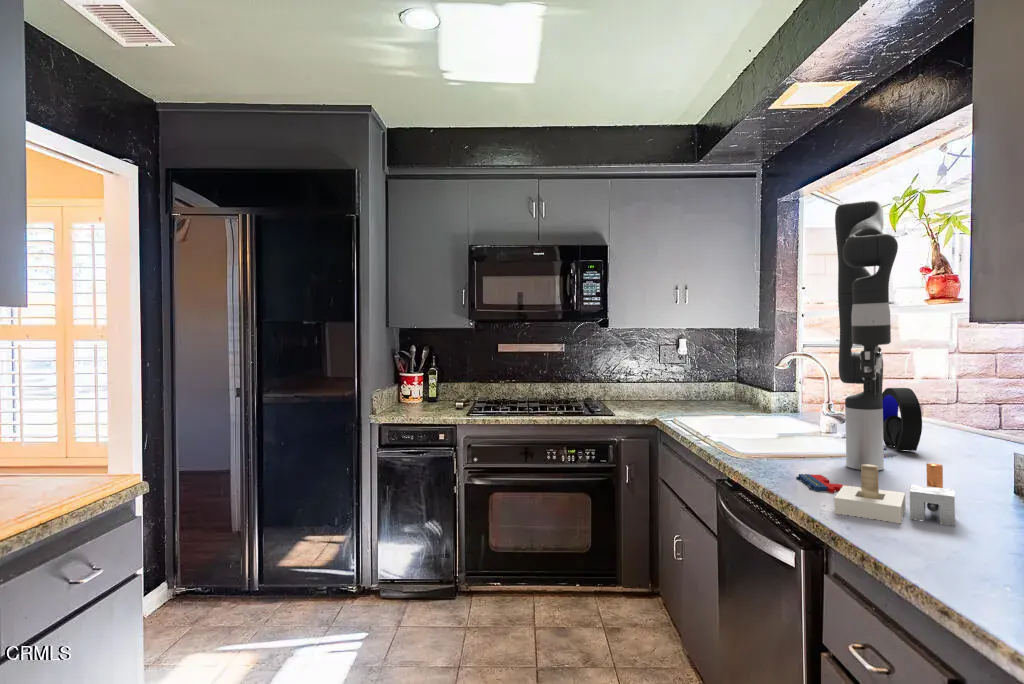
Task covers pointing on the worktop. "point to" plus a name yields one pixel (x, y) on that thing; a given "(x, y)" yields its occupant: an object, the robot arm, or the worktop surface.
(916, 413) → the headphones
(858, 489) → the socket block
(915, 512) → the pin mount
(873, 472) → the dowel
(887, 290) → the robot arm
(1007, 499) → the worktop surface
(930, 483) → the lock pin
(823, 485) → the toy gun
